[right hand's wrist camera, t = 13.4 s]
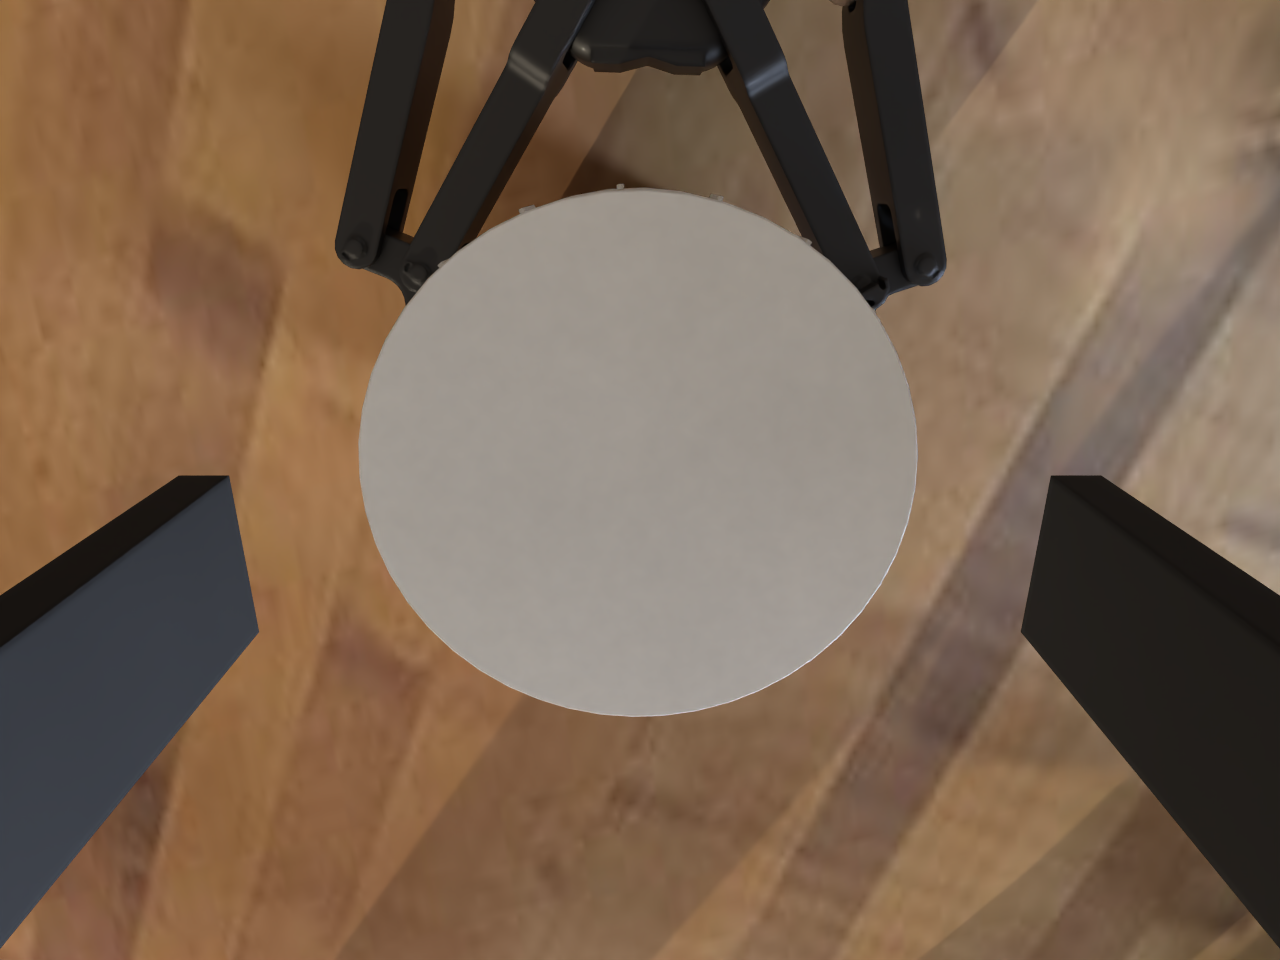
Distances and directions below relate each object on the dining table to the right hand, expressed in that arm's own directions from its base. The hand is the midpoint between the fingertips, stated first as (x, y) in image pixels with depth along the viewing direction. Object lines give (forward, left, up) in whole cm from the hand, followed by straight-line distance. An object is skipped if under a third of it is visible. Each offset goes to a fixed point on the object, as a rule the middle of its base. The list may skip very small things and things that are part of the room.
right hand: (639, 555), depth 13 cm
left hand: (-3, +4, -14) cm, 15 cm away
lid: (0, 0, -4) cm, 4 cm away
